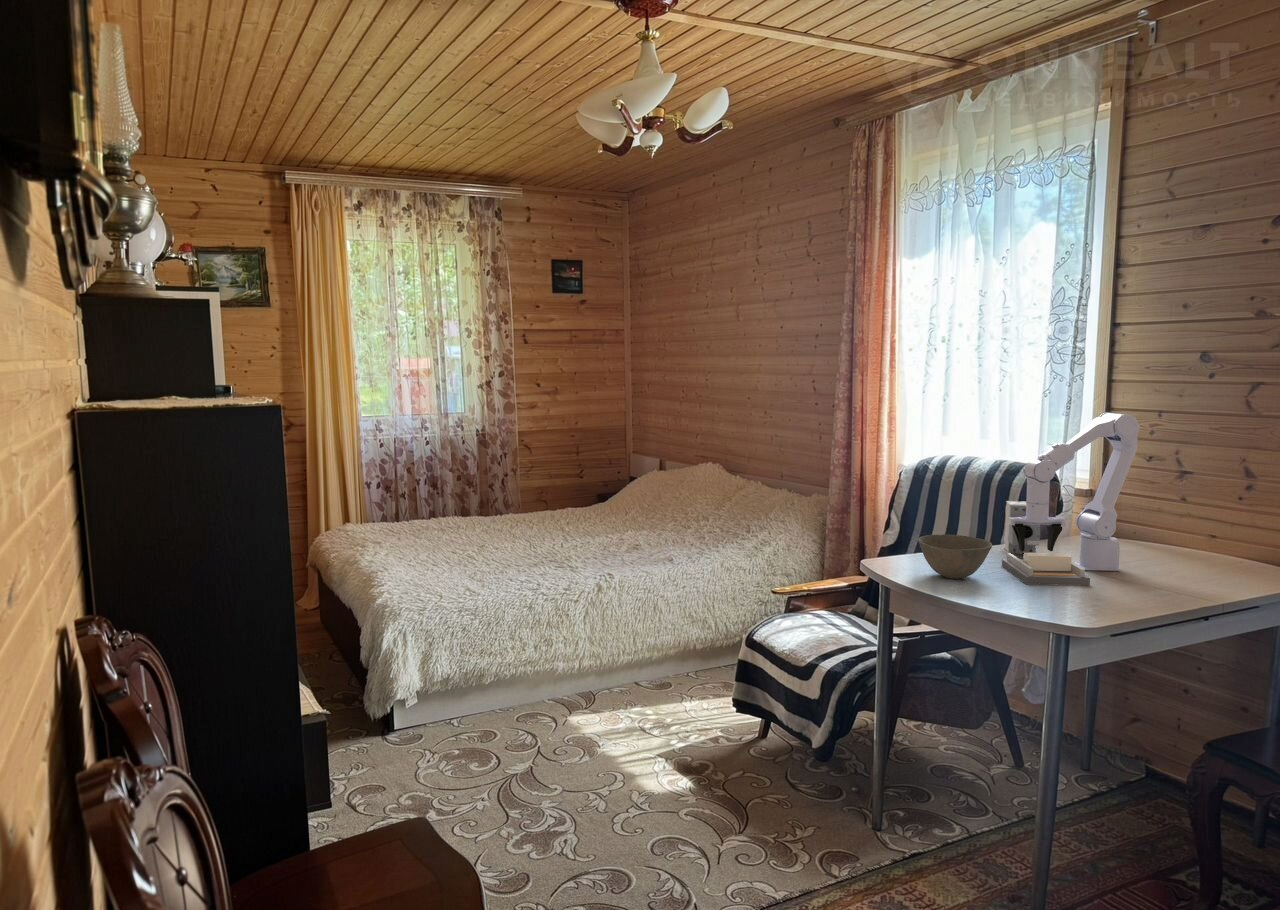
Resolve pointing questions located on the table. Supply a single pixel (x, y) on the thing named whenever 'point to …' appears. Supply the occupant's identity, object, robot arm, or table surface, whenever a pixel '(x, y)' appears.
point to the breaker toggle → (1048, 561)
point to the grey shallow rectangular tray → (1045, 573)
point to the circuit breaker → (1031, 530)
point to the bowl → (954, 554)
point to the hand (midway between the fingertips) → (1035, 550)
